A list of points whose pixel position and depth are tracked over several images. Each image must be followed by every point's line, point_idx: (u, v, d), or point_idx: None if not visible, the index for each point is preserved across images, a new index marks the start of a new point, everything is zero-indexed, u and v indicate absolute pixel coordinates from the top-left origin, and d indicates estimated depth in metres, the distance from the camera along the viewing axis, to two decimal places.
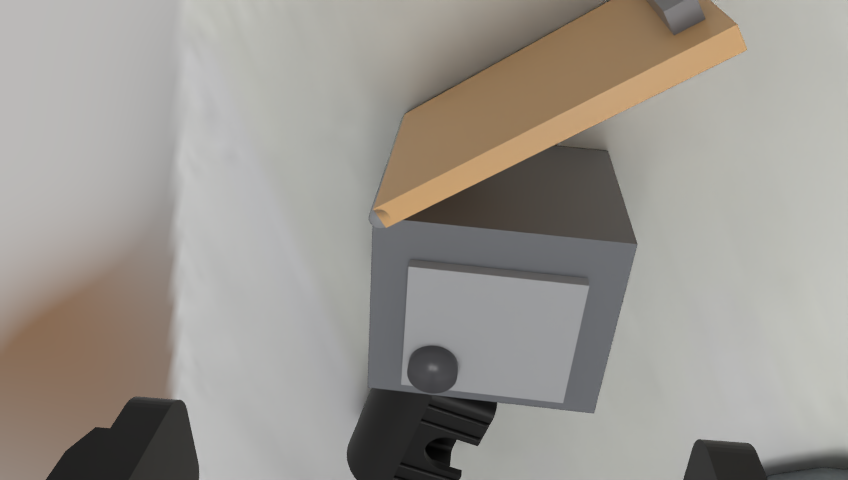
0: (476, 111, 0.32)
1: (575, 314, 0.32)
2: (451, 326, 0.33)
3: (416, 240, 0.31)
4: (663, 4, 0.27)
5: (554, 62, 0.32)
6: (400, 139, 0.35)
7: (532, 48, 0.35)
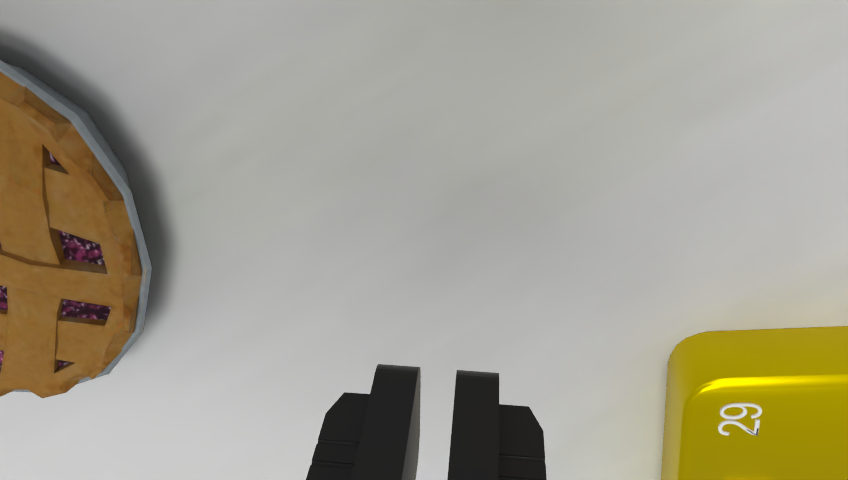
0: None
1: None
2: None
3: None
4: None
5: None
6: None
7: None
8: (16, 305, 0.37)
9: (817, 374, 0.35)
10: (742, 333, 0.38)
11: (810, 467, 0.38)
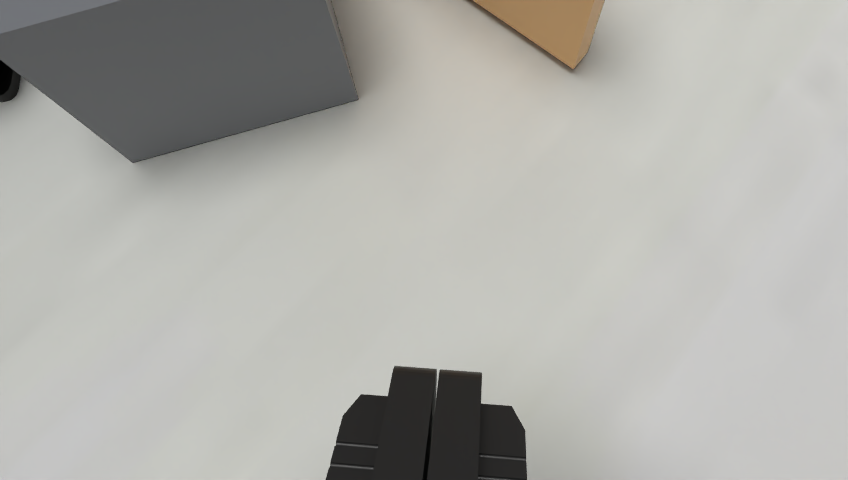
0: None
1: None
2: None
3: None
4: None
5: None
6: None
7: None
8: None
9: None
10: None
11: None
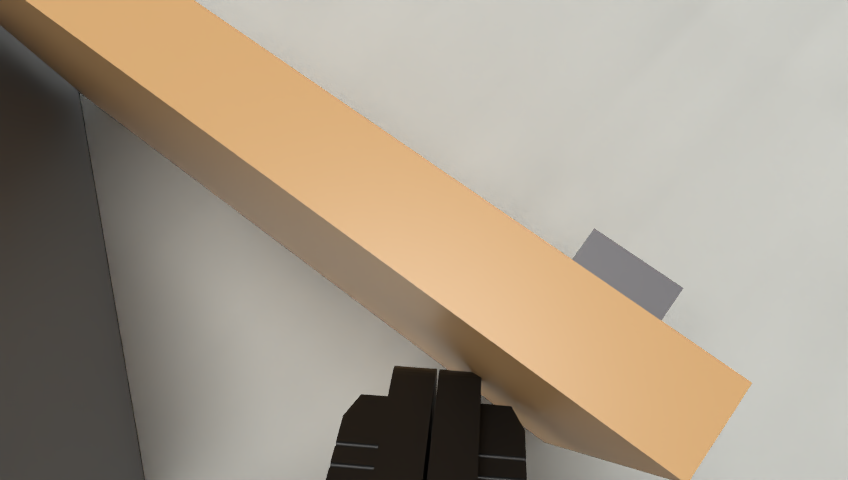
0: None
1: None
2: None
3: None
4: None
5: None
6: None
7: None
8: None
9: None
10: None
11: None
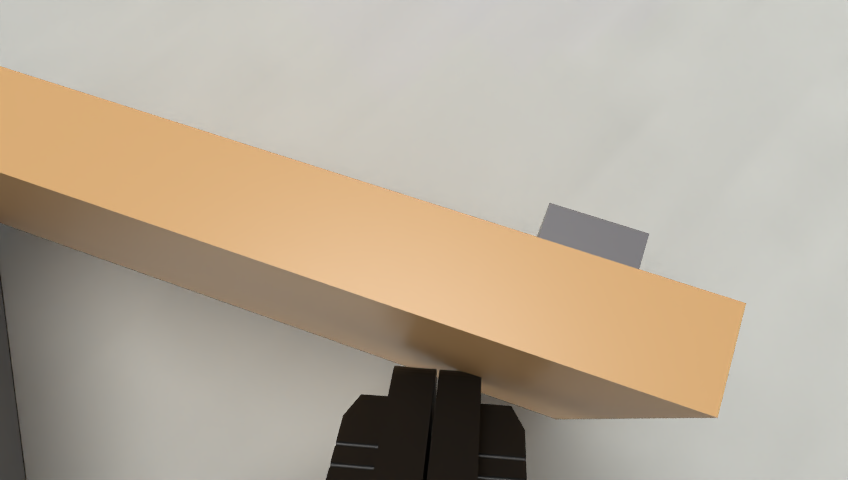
0: None
1: None
2: None
3: None
4: None
5: None
6: None
7: None
8: None
9: None
10: None
11: None
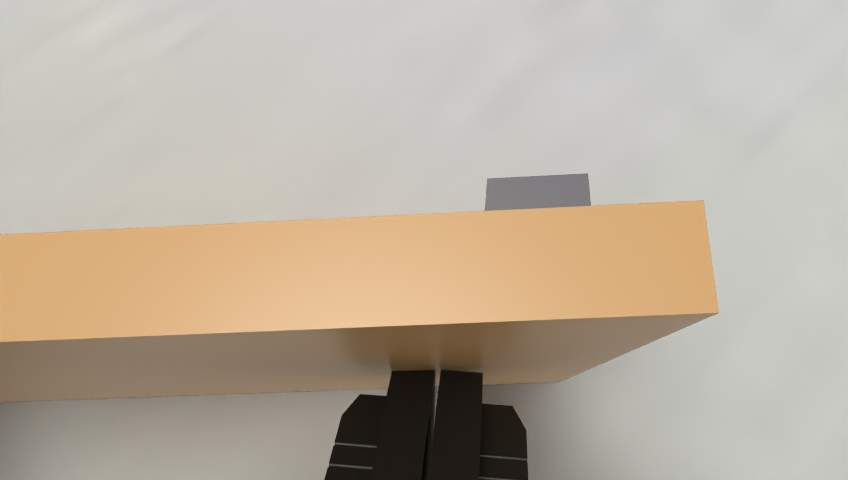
0: None
1: None
2: None
3: None
4: None
5: None
6: None
7: None
8: None
9: None
10: None
11: None
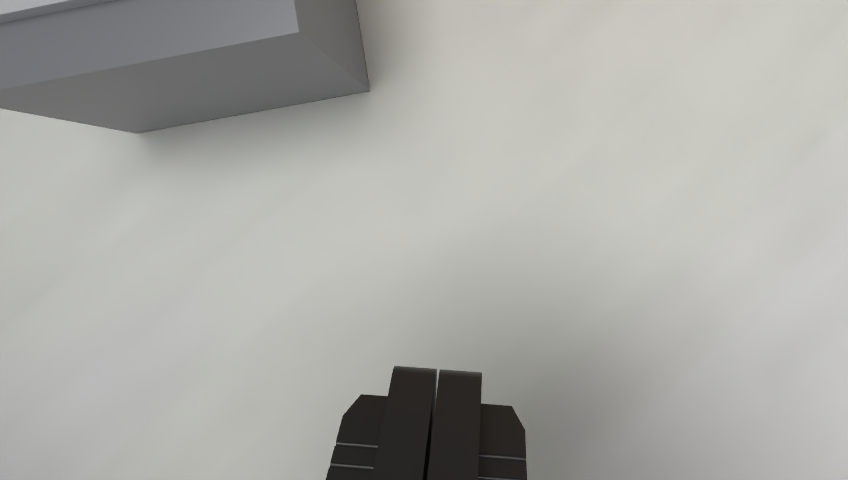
0: None
1: None
2: None
3: None
4: None
5: None
6: None
7: None
8: None
9: None
10: None
11: None
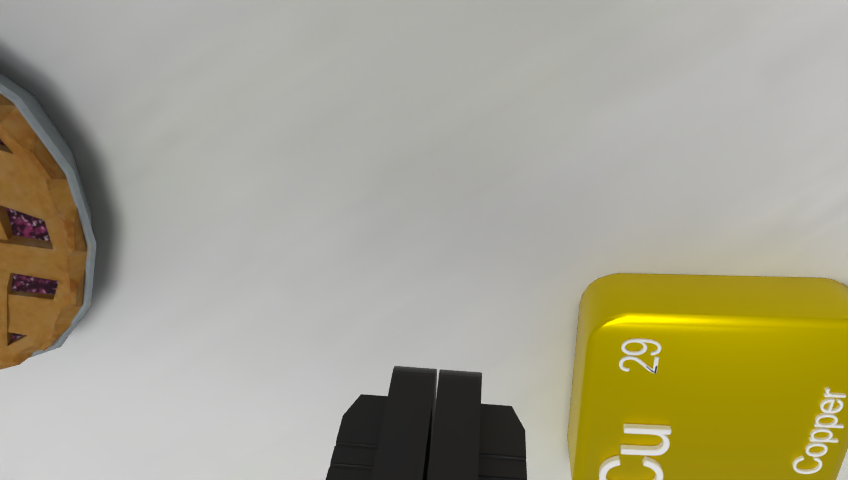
0: None
1: None
2: None
3: None
4: None
5: None
6: None
7: None
8: None
9: (714, 314, 0.36)
10: (651, 276, 0.39)
11: (705, 409, 0.39)
